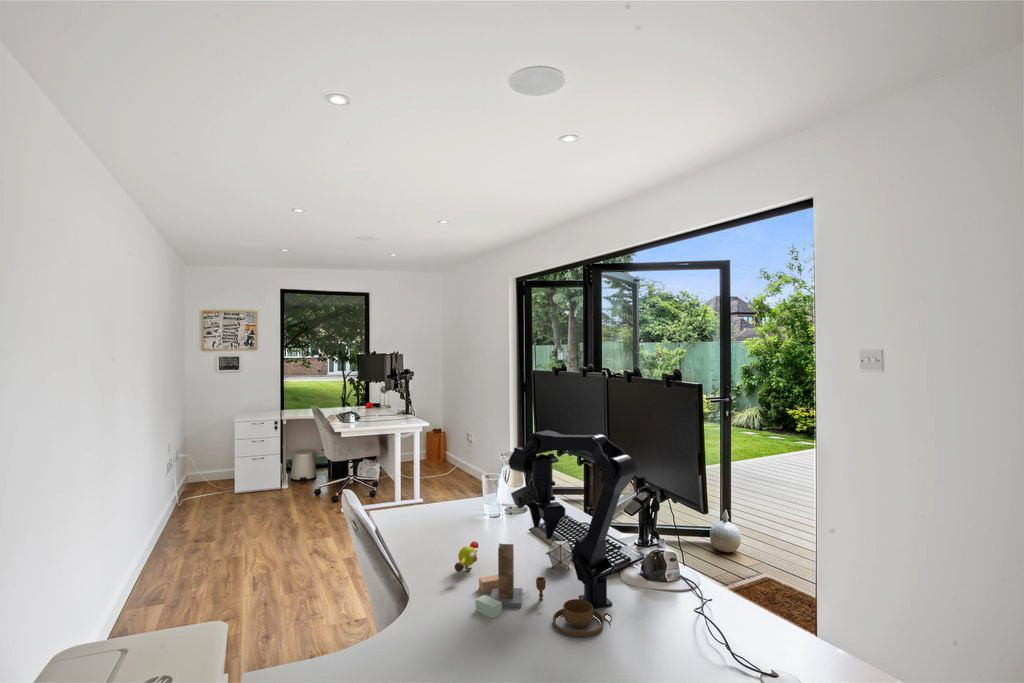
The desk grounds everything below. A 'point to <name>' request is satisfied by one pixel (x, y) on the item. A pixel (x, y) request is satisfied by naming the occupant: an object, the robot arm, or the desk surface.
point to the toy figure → (467, 557)
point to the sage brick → (488, 606)
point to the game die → (560, 554)
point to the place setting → (574, 613)
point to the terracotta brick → (488, 583)
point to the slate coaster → (509, 603)
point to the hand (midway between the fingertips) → (542, 533)
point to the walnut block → (506, 571)
